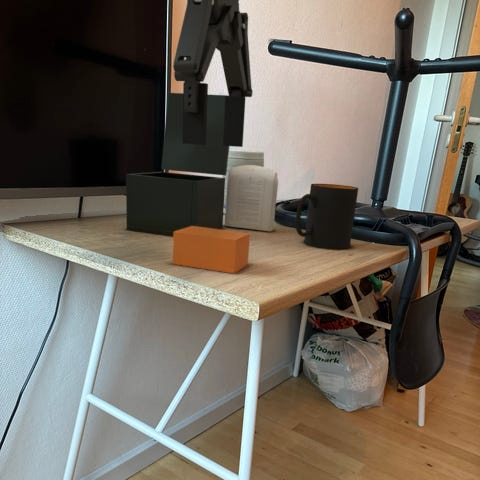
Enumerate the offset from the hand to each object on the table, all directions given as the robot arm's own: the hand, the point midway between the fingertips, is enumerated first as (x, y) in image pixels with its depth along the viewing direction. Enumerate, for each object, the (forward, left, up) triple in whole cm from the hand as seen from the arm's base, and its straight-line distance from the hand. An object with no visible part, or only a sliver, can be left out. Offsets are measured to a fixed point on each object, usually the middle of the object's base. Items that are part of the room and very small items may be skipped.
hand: (215, 145), depth 63 cm
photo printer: (-5, +33, -16) cm, 37 cm away
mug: (+11, +25, -16) cm, 32 cm away
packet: (0, 0, -16) cm, 16 cm away
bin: (-16, +22, -16) cm, 31 cm away
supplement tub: (-13, +51, -16) cm, 55 cm away
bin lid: (-16, +30, +2) cm, 34 cm away
